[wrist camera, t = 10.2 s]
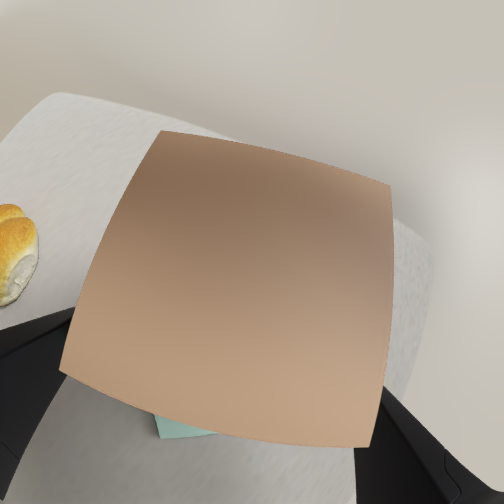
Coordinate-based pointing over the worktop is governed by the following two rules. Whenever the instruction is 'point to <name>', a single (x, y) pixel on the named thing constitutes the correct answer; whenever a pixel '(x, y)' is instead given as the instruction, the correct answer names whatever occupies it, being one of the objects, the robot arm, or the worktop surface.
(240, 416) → the walnut block
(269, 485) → the worktop surface
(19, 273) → the bread roll
